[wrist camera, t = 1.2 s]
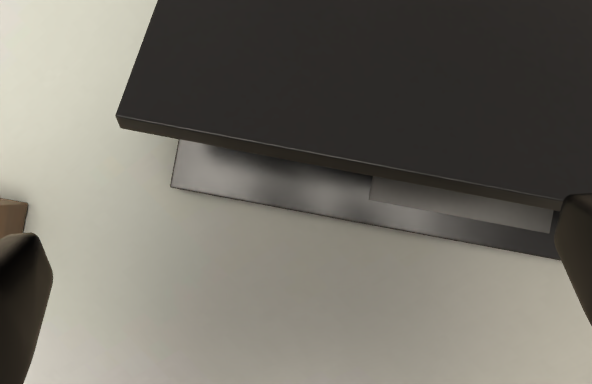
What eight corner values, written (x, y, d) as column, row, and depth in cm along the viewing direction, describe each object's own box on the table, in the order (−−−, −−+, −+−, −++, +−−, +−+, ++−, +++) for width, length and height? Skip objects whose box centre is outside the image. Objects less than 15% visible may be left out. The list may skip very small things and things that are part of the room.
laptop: (702, 285, 28) (732, 292, 27) (177, 187, 28) (169, 187, 26) (774, -82, 28) (809, -102, 26) (247, -191, 28) (244, -219, 26)
